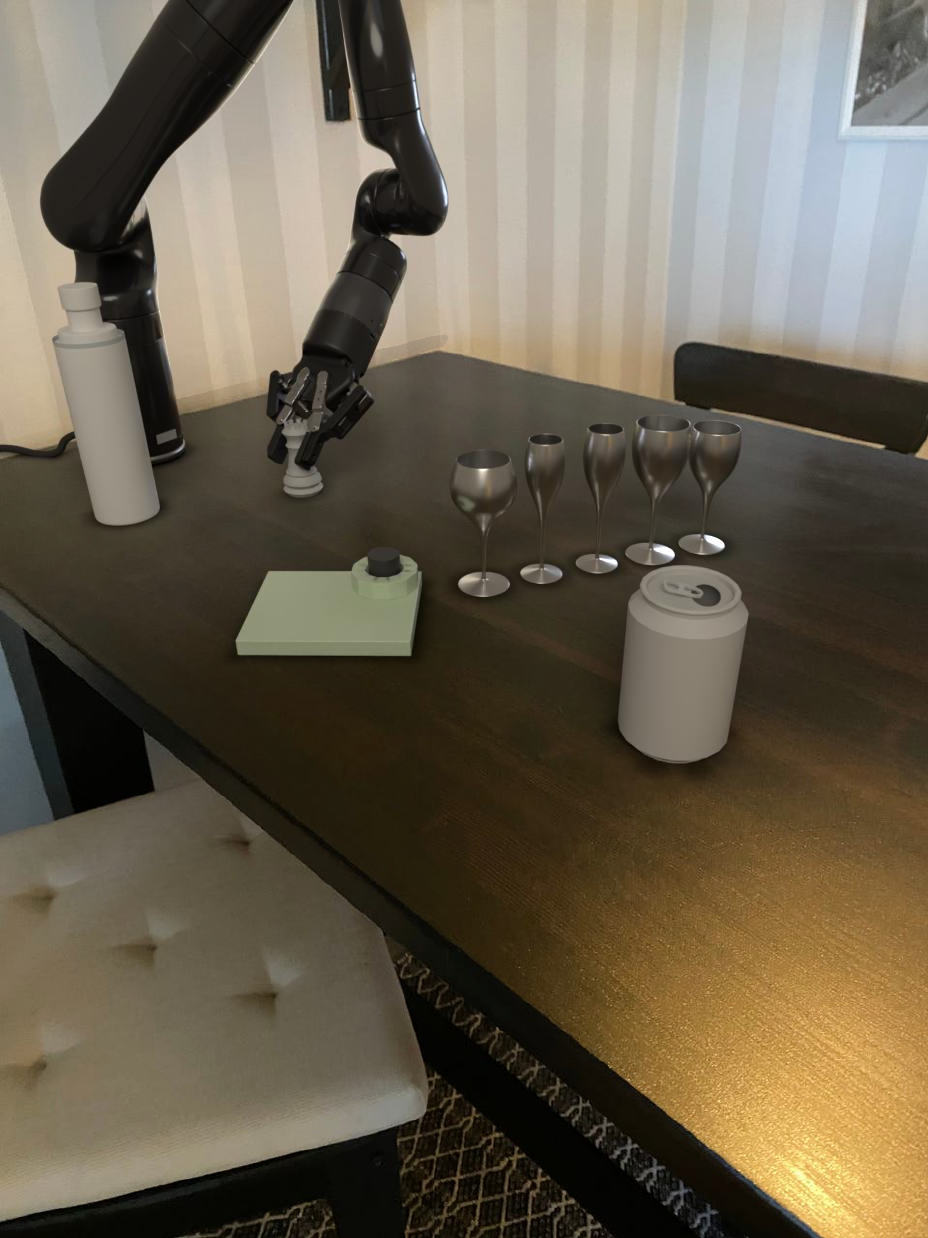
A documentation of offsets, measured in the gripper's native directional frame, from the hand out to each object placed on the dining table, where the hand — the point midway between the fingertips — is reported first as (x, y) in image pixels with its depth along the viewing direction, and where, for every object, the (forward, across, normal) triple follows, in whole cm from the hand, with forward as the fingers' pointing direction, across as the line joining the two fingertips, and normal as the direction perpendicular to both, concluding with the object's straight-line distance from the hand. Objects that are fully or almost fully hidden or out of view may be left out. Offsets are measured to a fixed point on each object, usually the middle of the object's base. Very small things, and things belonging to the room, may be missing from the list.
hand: (288, 463), depth 98 cm
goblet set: (+2, +36, +4) cm, 36 cm away
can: (+16, +51, -11) cm, 55 cm away
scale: (+16, +21, -10) cm, 28 cm away
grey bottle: (+12, -13, -6) cm, 18 cm away
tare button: (+10, +23, -8) cm, 26 cm away
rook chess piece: (+2, 0, +4) cm, 5 cm away
